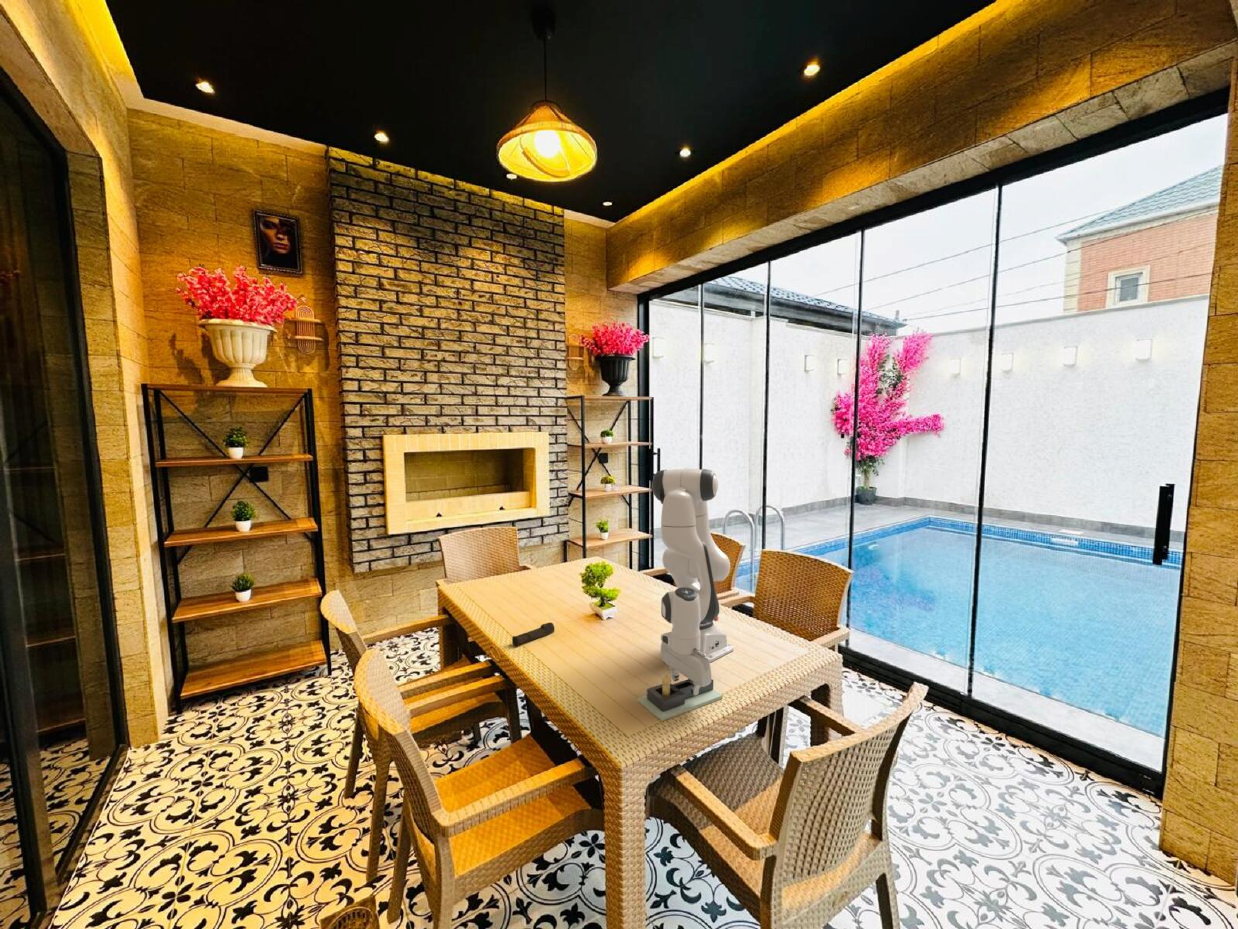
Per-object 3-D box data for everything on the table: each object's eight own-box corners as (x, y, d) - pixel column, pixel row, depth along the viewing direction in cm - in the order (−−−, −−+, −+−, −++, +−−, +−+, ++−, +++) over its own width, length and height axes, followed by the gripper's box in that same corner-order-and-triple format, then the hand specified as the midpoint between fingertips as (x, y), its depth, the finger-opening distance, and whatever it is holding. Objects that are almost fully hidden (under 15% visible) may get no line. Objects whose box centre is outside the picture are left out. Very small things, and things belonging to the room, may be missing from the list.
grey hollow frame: (662, 712, 143) (663, 701, 143) (647, 699, 150) (647, 688, 149) (717, 692, 154) (717, 682, 153) (700, 681, 160) (700, 671, 160)
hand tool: (517, 648, 186) (517, 636, 185) (511, 645, 189) (511, 633, 188) (558, 634, 199) (558, 623, 198) (552, 631, 202) (552, 620, 201)
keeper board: (696, 681, 162) (697, 655, 162) (722, 698, 152) (723, 670, 151) (638, 701, 150) (638, 672, 150) (661, 721, 140) (662, 690, 139)
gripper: (717, 654, 143) (716, 700, 145) (673, 629, 161) (672, 670, 162) (700, 659, 140) (699, 706, 141) (657, 633, 158) (656, 675, 159)
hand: (684, 687), depth 152 cm, fingers open, 8 cm apart
